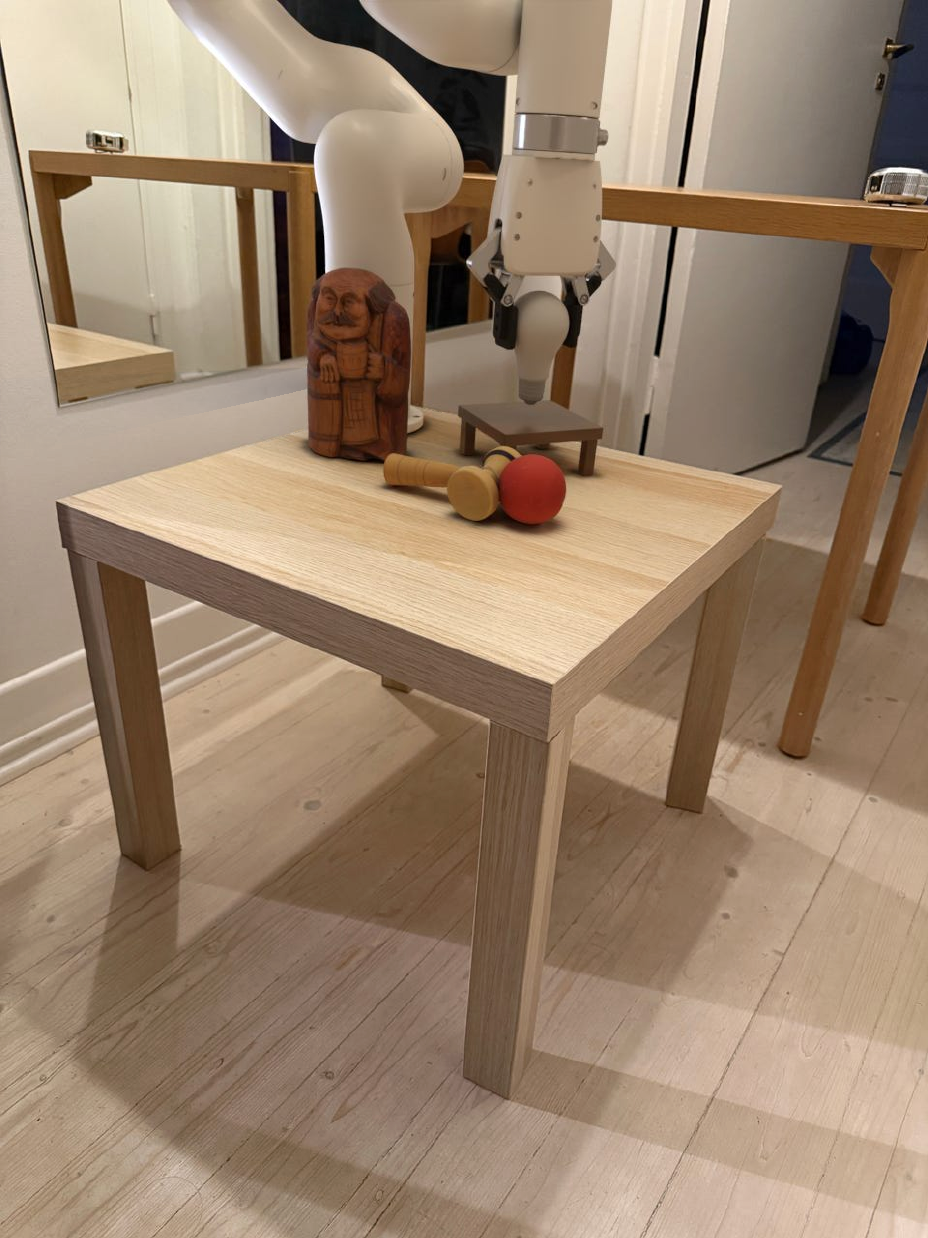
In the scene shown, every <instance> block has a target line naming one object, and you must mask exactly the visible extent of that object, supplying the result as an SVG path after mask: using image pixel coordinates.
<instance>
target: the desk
mask: <svg viewBox="0 0 928 1238" xmlns="http://www.w3.org/2000/svg"><path fill="white" fill-rule="evenodd" d="M457 410H458V411H457V417H458V418H460V419H461V423H460V424H461V425H460V439H459V453H460V454H462V455H463V456H469V455H470V456H472V455H475V447H476V432H477V430H478V431H480V432H481V433H483V434H484V435H486V436H488V437H489V438H490V439H492V440H493V441H495V442H497V444H500V446H507V447H510V448H513V449H514V450H516V451H517V447H519V446H520V447H521V446H533V445H535V447H536V448H538V449H539V450H545V449H546V450H547V449H550V447H551V444H559V443H570V442H571V443H572V442H580V451H579V457H578V466H577V473H578V474H580V475H582V476H593V475H594V470H595V463H596V456H597V449H598V441H599V440H602V439H603V433H604V427H603V426H601V425H599V424H596V423H595V422H593V421H592V420H589V419H588V418H585V417H584V416H582V415H579V414H578V413H575V412H574V411H573V410H570V409H568V408H566V407H564V406H562V405H560V404H558V403H556V402H554V401H553V400H551V399H547V400H546V399H545V400H544V399H542V400H541V401H538V402H536V404H534V405H528V404H526V403H525V402H524V401H509V402H493V403H492V402H491V403H474V404H458V409H457ZM500 446H499V447H500Z"/></svg>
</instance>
